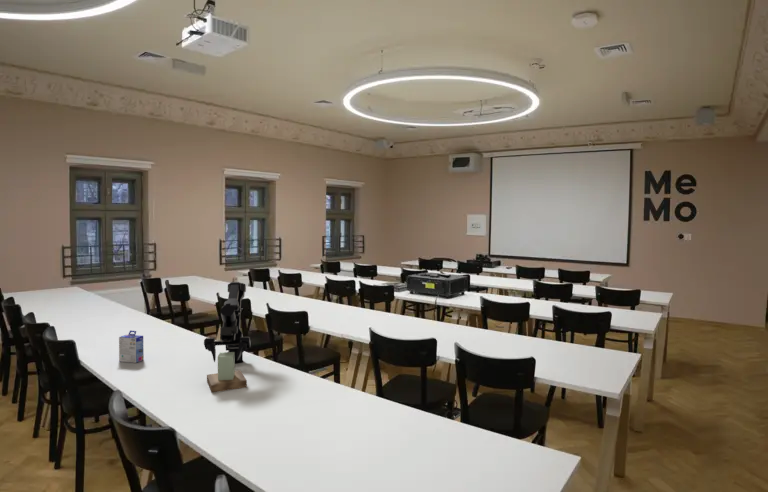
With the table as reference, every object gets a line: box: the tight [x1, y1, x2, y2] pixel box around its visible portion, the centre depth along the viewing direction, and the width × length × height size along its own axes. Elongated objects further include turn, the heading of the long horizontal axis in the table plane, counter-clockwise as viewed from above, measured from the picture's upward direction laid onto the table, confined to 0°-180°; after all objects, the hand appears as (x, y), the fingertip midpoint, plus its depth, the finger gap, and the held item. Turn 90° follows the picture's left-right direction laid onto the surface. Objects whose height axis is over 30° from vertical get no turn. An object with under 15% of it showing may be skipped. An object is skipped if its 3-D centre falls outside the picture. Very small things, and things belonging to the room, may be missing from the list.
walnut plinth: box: [206, 369, 248, 394], centre depth 203 cm, size 14×14×3 cm
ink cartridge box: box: [118, 330, 145, 364], centre depth 232 cm, size 10×6×14 cm, turn 78°
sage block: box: [217, 351, 236, 380], centre depth 202 cm, size 6×6×10 cm
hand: (225, 361), depth 201 cm, fingers open, 9 cm apart
